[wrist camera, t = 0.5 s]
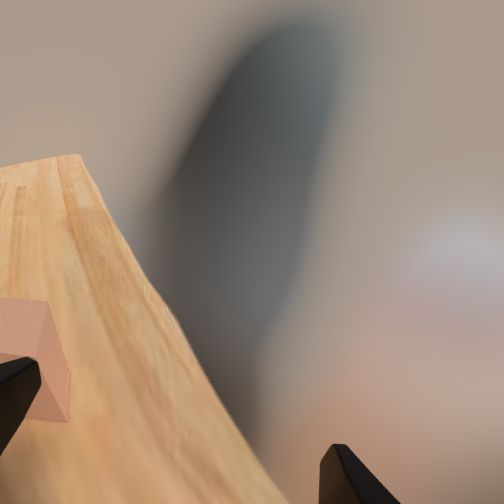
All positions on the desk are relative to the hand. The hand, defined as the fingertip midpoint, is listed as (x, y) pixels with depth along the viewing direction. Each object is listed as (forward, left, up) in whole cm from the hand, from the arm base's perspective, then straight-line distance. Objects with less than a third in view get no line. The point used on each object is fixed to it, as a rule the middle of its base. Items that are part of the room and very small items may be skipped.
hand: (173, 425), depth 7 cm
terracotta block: (+2, +14, -16) cm, 21 cm away
